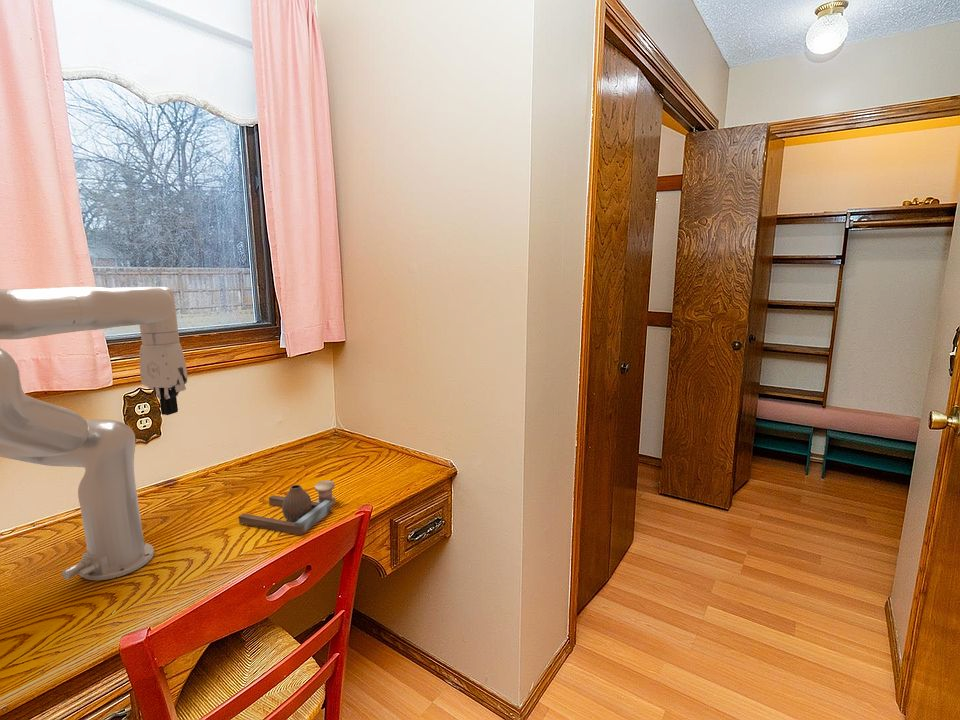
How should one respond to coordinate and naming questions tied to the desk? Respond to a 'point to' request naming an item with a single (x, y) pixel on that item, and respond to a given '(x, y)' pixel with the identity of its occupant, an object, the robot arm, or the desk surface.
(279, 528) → the channel
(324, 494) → the thread spool
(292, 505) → the vase
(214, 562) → the desk surface
